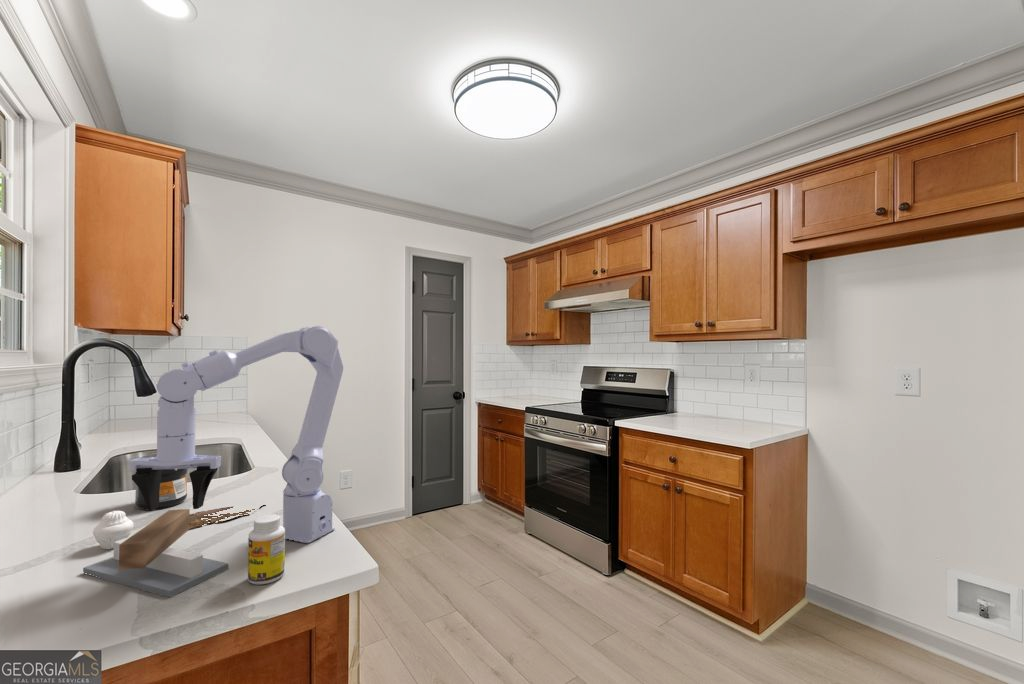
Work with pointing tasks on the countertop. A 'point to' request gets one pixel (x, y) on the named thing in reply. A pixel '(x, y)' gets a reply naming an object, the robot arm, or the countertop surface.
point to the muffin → (112, 529)
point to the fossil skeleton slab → (209, 517)
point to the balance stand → (160, 571)
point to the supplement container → (167, 488)
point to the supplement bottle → (266, 550)
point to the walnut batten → (153, 539)
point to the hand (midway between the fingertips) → (175, 508)
